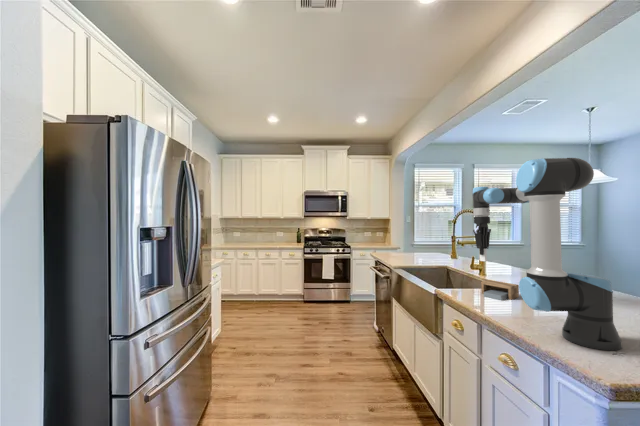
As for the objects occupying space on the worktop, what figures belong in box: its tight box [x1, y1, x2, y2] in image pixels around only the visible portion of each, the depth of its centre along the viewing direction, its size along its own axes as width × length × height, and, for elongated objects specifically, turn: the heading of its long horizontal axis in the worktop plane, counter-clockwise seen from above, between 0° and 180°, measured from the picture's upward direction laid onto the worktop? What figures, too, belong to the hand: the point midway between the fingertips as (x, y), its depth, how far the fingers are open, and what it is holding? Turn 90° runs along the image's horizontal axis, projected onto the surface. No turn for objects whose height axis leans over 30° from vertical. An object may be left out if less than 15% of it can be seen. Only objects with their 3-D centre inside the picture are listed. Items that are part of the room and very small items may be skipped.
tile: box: [483, 289, 509, 301], centre depth 155 cm, size 12×9×3 cm
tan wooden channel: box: [480, 279, 520, 301], centre depth 157 cm, size 8×15×7 cm, turn 31°
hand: (483, 261), depth 149 cm, fingers closed
